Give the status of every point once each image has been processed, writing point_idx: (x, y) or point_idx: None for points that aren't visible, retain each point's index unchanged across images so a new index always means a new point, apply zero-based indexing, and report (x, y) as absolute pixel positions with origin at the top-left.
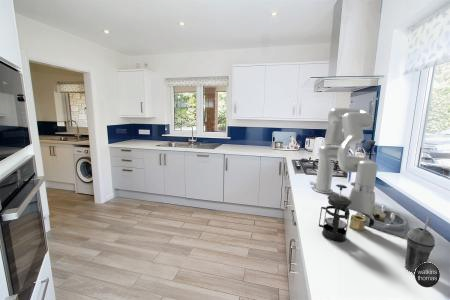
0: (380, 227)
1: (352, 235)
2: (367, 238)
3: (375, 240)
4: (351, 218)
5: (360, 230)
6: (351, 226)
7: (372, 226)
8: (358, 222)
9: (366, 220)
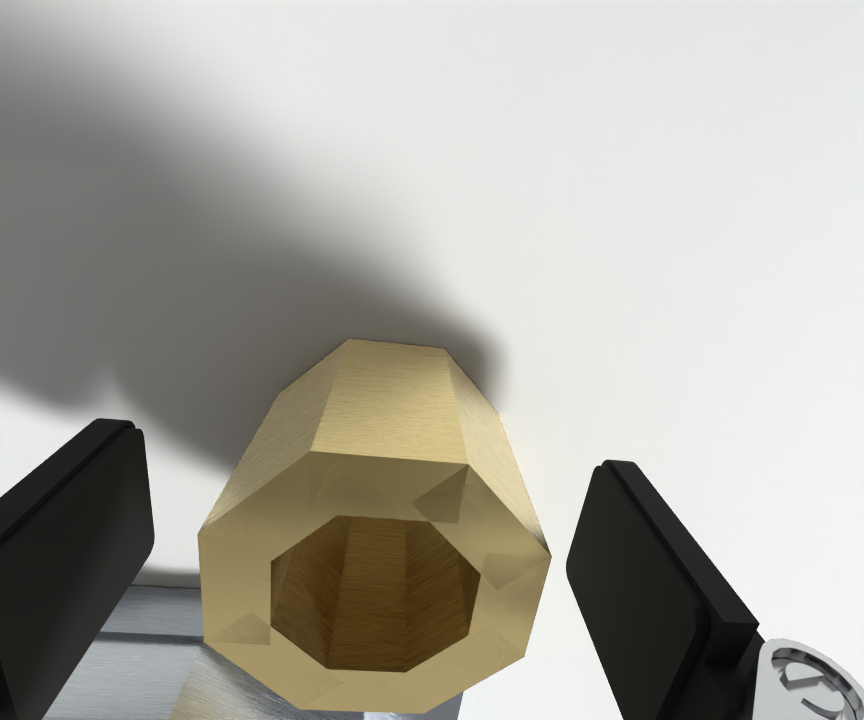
0: None
1: (417, 15)
2: (144, 109)
3: (4, 135)
4: (523, 504)
5: (316, 365)
6: (469, 383)
7: (178, 605)
8: (349, 413)
9: (268, 692)
